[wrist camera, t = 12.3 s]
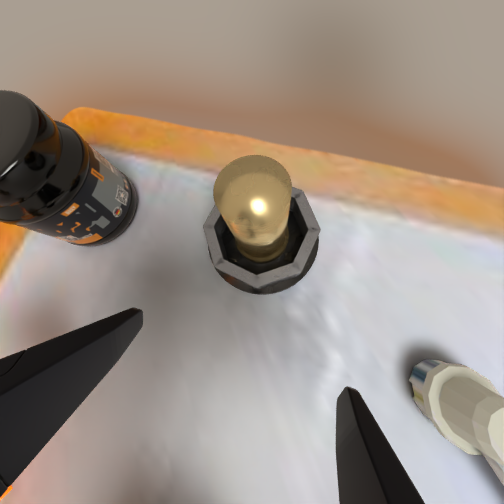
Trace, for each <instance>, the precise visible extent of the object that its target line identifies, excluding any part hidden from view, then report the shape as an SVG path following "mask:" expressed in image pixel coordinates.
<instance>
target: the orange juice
mask: <svg viewBox="0 0 504 504" xmlns="http://www.w3.org/2000/svg"><path fill="white" fill-rule="evenodd" d="M11 489H12V486H10V487H8V489H7V490H6V492H5V493H4V494H3V495H2V496H1V497H0V500H1V499H2V498H3V497H4V496H5V495H6V494H7V493H8V492H9V491H10V490H11Z"/></svg>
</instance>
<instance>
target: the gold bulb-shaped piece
mask: <svg viewBox="0 0 504 504" xmlns="http://www.w3.org/2000/svg"><path fill="white" fill-rule="evenodd" d="M291 193H292V184H291V179H290V176H289V174H288V172H287V171H286V169H285V168H284V167H283V166H282V165H281V164H280V163H279V162H277V161H276V160H274V159H272V158H269V157H266V156H261V155H250V156H244V157H241V158H238V159H236V160H234V161H232V162H231V163H229V164H228V165H227V166H226V167H225V168H224V169H223V170H222V171H221V172H220V173H219V175H218V177H217V179H216V181H215V184H214V190H213V196H214V201H215V204H216V206H217V208H218V210H219V212H220V213H221V215H222V217H223V218H224V220H225V222H226V224H227V225H228V227H229V229H230V230H231V232H232V234H233V236H234V241H235V244H236V246H237V248H238V250H239V251H240V253H241V254H242V255H243V257H245V258H246V259H247V260H249V261H251V262H253V263H258V264H266V263H270V262H273V261H275V260H276V259H278V258H279V257H280V256H281V255H282V254H283V253H284V251H285V249H286V247H287V243H288V238H289V231H288V226H287V223H288V215H289V208H290V200H291Z"/></svg>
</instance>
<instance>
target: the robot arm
mask: <svg viewBox="0 0 504 504" xmlns="http://www.w3.org/2000/svg"><path fill="white" fill-rule="evenodd" d="M142 325H143V312H142V310H140V309H137V308H130V309H127V310H125V311H122V312H120V313H117V314H115V315H112V316H110V317H107V318H104V319H102V320H99V321H97V322H94V323H92V324H89V325H87V326H84V327H81V328H79V329H76V330H74V331H71V332H69V333H66V334H64V335H61V336H59V337H56V338H53V339H51V340H48V341H46V342H43V343H41V344H38V345H36V346H33V347H30V348H28V349H27V350H23V351H20V352H18V353H15V354H12V355H10V356H7V357H5V358H2V359H0V497H1V496H2V495H3V494H4V493H5V492H6V490H7V489H8V487H10V486H11V484H12V483H13V482H14V481H15V480H16V479H17V477H18V476H19V475H20V474H21V473H22V472H23V470H24V469H25V468H26V467H27V466H28V465H29V463H30V462H31V461H32V460H33V459H34V458H35V457H36V455H37V454H38V453H39V452H40V451H41V450H42V448H43V447H44V446H45V445H46V444H47V443H48V441H49V440H50V439H51V438H52V437H53V436H54V434H55V433H56V432H57V431H58V430H59V429H60V427H61V426H62V425H63V424H64V423H65V422H66V421H67V419H68V418H69V417H70V416H71V415H72V414H73V412H74V411H75V410H76V409H77V408H78V407H79V405H80V404H81V403H82V402H83V401H84V400H85V398H86V397H87V396H88V395H89V394H90V393H91V391H92V390H93V389H94V388H95V387H96V386H97V385H98V383H99V382H100V381H101V380H102V379H103V378H104V376H105V375H106V374H107V373H108V372H109V371H110V369H111V368H112V367H113V366H114V365H115V364H116V362H117V361H118V360H119V359H120V357H121V356H122V355H123V353H124V352H125V350H126V349H127V348H128V346H129V345H130V343H131V342H132V341H133V339H134V338H135V336H136V335H137V334H138V332H139V331H140V329H141V328H142ZM336 461H337V475H338V489H339V502H340V504H425V503H424V501H423V499H422V498H421V496H420V494H419V493H418V491H417V489H416V488H415V486H414V484H413V483H412V481H411V479H410V478H409V476H408V474H407V473H406V471H405V469H404V467H403V466H402V464H401V462H400V461H399V459H398V457H397V456H396V454H395V452H394V451H393V449H392V447H391V446H390V444H389V442H388V440H387V439H386V437H385V435H384V434H383V432H382V430H381V429H380V427H379V425H378V424H377V422H376V420H375V419H374V417H373V415H372V414H371V412H370V410H369V408H368V407H367V405H366V403H365V402H364V400H363V398H362V397H361V395H360V393H359V392H358V391H357V390H356V389H353V388H351V387H345V388H344V390H343V391H342V392H341V394H340V395H339V397H338V399H337V407H336Z"/></svg>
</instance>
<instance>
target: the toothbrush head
mask: <svg viewBox="0 0 504 504" xmlns="http://www.w3.org/2000/svg"><path fill="white" fill-rule="evenodd" d="M409 381H410V382H412V386H413V391H414V396H415V397H413V400H414V401H415V403H416V404H417V406H418V407H419V409H420V410H421V412H422V413H423V414H424V415H425V416H426V417H428V418H429V419H430V420H431V421H432V423H433V424H434V426H435V427H436V429H437V430H438V432H439V433H440V434H441V435H442V436H443V437H444V438H446V439H447V440H448V441H450V442H451V443H453V444H454V445H456V446H457V447H458V448H460V449H461V450H463V451H464V452H466V453H467V454H472V455H483V456H484V457H485V458H486V460H487V461H488V463H489V464H490V466H491V467H492V469H493V470H494V472H495V473H496V475H497V476H498V478H499V479H500V481H501V482H502V484H503V485H504V398H503V397H502V396H501V395H500V394H499V392H498V391H497V390H496V388H495V387H494V386H493V384H492V383H491V381H490V380H488V379H487V378H485V377H484V376H482V375H480V374H479V373H477V372H476V371H474V370H472V369H471V368H469V367H467V366H464V365H462V364H451V363H445V362H443V361H440V360H429V359H425V360H423V361H422V362H420V363H419V364H417V365H416V366H414V368H413V371H412V374H411V377H410V380H409Z"/></svg>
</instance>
